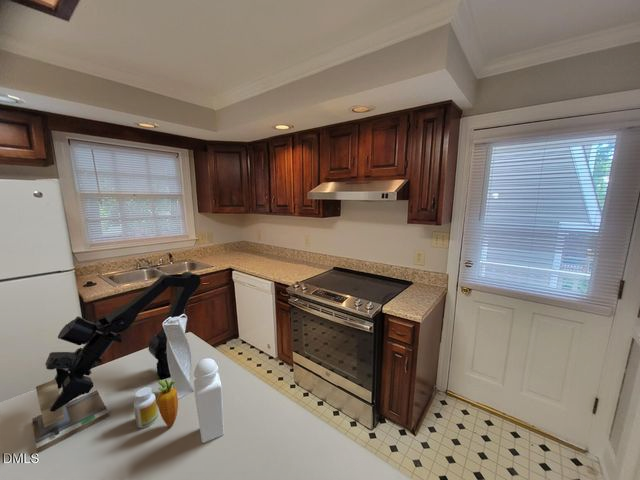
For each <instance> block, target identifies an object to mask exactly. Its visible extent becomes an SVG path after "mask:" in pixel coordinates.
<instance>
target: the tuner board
mask: <svg viewBox="0 0 640 480" xmlns="http://www.w3.org/2000/svg"><path fill="white" fill-rule="evenodd" d="M65 406H66V409H67V412H68V415H69V418H70V422H71V423H69V424H67V425H65V426H63V427H61V428H58V430H59V434H58V435H56V436H55V432H54V431H52V432H50V433H48V434H46V435H44V436H42V437H40V432H39V426H38V420H37V419H38V418H40V417H42V414H39V415H37V416H35V417H33V418H32V419H31V421H32V425H33V427H32V428H33V434H34V442H35V446H36V447H35V448H36V451H37V454H39V453H41V452H43V451H46V450H47V449H49V448H51V447H53V446H55V445H56V444H59V443H61V442H63V441H65V440H66V439H68V438H71V437H72V436H74V435H76V434H78V433H80V432H82V431H84V430H86V429H88V428H89V427H92V426H94V425H95V424H97V423H99V422H101V421H104V420H106V419H107V418H109V417H110V414H109V410H108V408H107V406H106V405H105V403H104V401H103V399H102V397H101V396H100V393H99V391H98V390H97V389H96V390H94V391H92V392H91V391H90V392H89V393H86V394H84V395H83V396H82V395H81V397H80V396H79V397H77V398H75V399H73V400H71V401H70V402H68V403H67V404H65V405H64V406H62V407H65Z"/></svg>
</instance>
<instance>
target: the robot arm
mask: <svg viewBox="0 0 640 480" xmlns="http://www.w3.org/2000/svg"><path fill="white" fill-rule="evenodd" d="M201 282H202V279H201V277H200V276H199V275H198V274H196V273H194V272H191V271H184V272H181V273H173V274H162V275H160V276H159V277H158V279H157V280H155V281H154V282H153V283H151V284H150V285H149V286H148V287H147V288H145V289H144V290H143V291H142V292H140V294H138V295H137V296H136V297H135V298H133V299H132V300H131V301H129V302H128V303H125V304H124V305H120V306H119V307H117V308H116V309H114V310H112V311H111V312H110V313H109V312H108V314H106V316H104V317H101V318H98V319H96V320H94V321H92V322H91V321H89V320H86V319H84V318H83V317H81V316H76V317H75V318H74V319H73V320H71V321H69V322H68V323H66V324H65V325H64V326H63V327H62V329H61V330H60V332H59V333H58V335H57V339H59V340H62V341H65V342H68V343H71V344H74V345H77V346H81V345H84V346H82V347H79V348H77V349H75V351H73V352H71V351H51V352H49V353H48V354H49V355H48V357H47V359H46V361H45V363H44V365H45V367H46V368H45V369H46V370H51V371H52V370H55V371H56V374H55V376H54V379H53V380H55V379H56V382H57V385H58V390H60V389H62V390H61V392H60V393H59V397H58V398H57V400H56V401H55V403H54V404H53V406H52V407H51V409H50V411H52V412H54V411H56V410H57V409H59V408H60V407H62V406H64V405H65V404H67V403H69V402H71V401H73V400H76V399H77V398H79V397H80V396H82V395H86V394H89V393H90V392H91V390H92V389H93V388H94V381H93V379H92V378H91V377H90V375H91V374H92V369H93V367H94V366H95V365H96V364H97V362H98V363H101V361H103V358H102V357H103V356H104V354H105V353H106V351H107V350H108V349H109V348H110V347H111V345H112V344H113V342H117V343H119V344H120V343H122V342H123V338H122V333H123V332H126V331H127V330H128V329H129V328H130V327H131V326H132V325H133V323H134V322H135V321H136V320H137V318H138V316H139V314H140V313H141V312H142V311H143V310H144V309H145V308H146V307H148V306H149V305H151V303H153V301H155V300H156V299H157V298H158V297H159V296H160V295H162V294H163V293H164V292H166V291H167V289H168V288H170V287H171V288H172V287H173V288H174V287H175V288H176V294H175V297H174V299H173V302H172V304H171V306H170V309H169V310H168V313H167V316H166V317H165V318H166V319H168V318H169V317H172V318H173V317H179V316H180V315H182V314H184V312H185V309H186V307H187V305H188V302H189V300H190V297H192V296H193V295H194V294H195V293H196V292H197V290H198V289H199V286H200V284H201ZM180 318H183V316H181V317H180ZM166 319H165V320H166ZM168 320H169V319H168ZM168 320H167V321H168ZM167 321H166V322H167ZM166 322H165V323H166ZM165 323H164V324H165ZM147 346H148V353H150V354H151V355H152V357H154V358H155V359H156V360H157V362H156V372H157V377H159V381H160V380H162V381H163V380H166V379H168V378H171V375H170V371H169V367H168V361H167V337H166V334H165V331H164V328H163V326H162V328H161V330H160V331H159V332H158V333H157V334H152V335H151V339H150V341H149V342H148V343H147Z"/></svg>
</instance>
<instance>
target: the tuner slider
mask: <svg viewBox="0 0 640 480" xmlns="http://www.w3.org/2000/svg"><path fill="white" fill-rule="evenodd" d="M54 379H55V378H54ZM54 379H53V380H50V381H48V382H44V383H41V384H40V385H36V386H35V391H36V395H37V399H38V404H39V405H38V406H39V408H40V415H42V417H40V418H38V419H37V420H38V426H39V432H40V437H42V436H44V435H46V434H48V433H50V432H52V431H54V432H55V436H56V435H58V434H59V430H58V428H61V427H63V426H65V425H67V424H69V423H71V422H70V418H69V415H68V412H67V409H66V406H65V407H60V408H59V409H57V410H56V411H54V412H52V411H50V409H51V407H52V406H53V404H54V403H55V401H56V400H57V398H58V397H59V395H60V391H59V390H60V389H59V390H58V385H57V382H56V379H55V380H54Z"/></svg>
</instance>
